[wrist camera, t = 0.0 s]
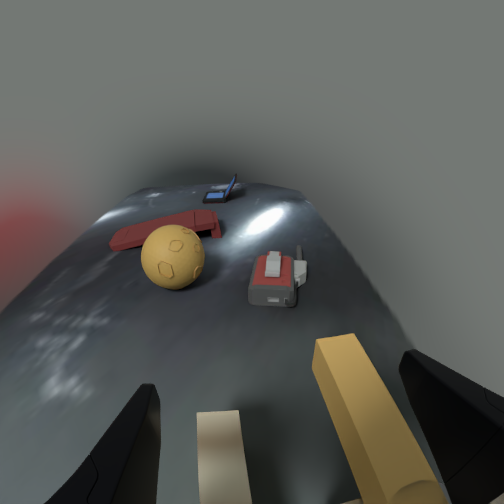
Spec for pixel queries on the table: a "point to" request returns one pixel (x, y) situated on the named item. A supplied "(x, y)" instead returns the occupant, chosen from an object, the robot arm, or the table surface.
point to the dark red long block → (188, 219)
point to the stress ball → (172, 256)
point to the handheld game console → (219, 194)
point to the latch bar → (372, 428)
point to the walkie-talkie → (276, 279)
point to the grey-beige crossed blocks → (221, 459)
